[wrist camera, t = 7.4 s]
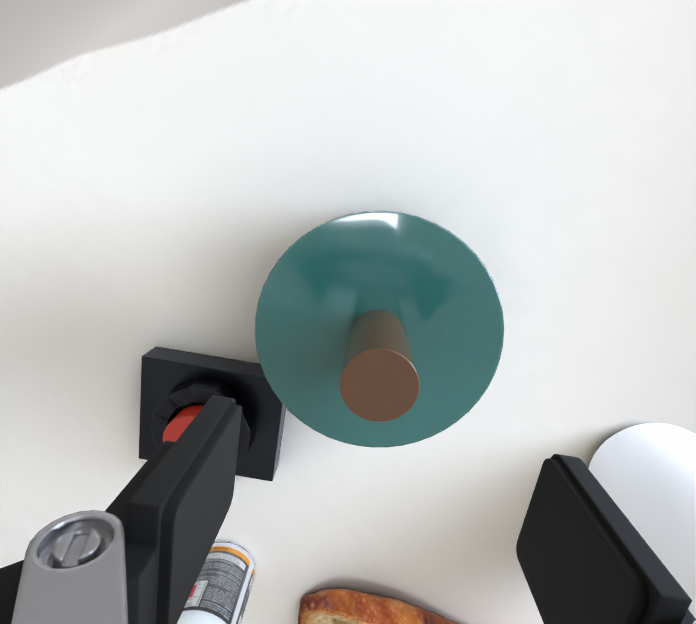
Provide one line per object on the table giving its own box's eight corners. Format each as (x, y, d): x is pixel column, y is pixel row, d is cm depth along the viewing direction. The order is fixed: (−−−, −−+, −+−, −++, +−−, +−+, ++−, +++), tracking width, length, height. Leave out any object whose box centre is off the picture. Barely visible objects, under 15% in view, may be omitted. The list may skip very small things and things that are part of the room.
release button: (171, 451, 32) (161, 465, 31) (174, 399, 31) (163, 411, 30) (228, 461, 32) (220, 475, 31) (233, 409, 31) (225, 422, 29)
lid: (249, 415, 24) (205, 496, 18) (274, 190, 21) (230, 189, 14) (466, 452, 24) (500, 547, 18) (525, 233, 21) (596, 250, 14)
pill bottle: (184, 552, 39) (125, 666, 30) (236, 530, 38) (192, 641, 29) (217, 595, 41) (170, 719, 31) (268, 575, 40) (236, 697, 30)
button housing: (151, 443, 36) (126, 472, 33) (155, 346, 34) (128, 365, 30) (278, 465, 36) (267, 497, 33) (290, 369, 34) (280, 391, 30)
